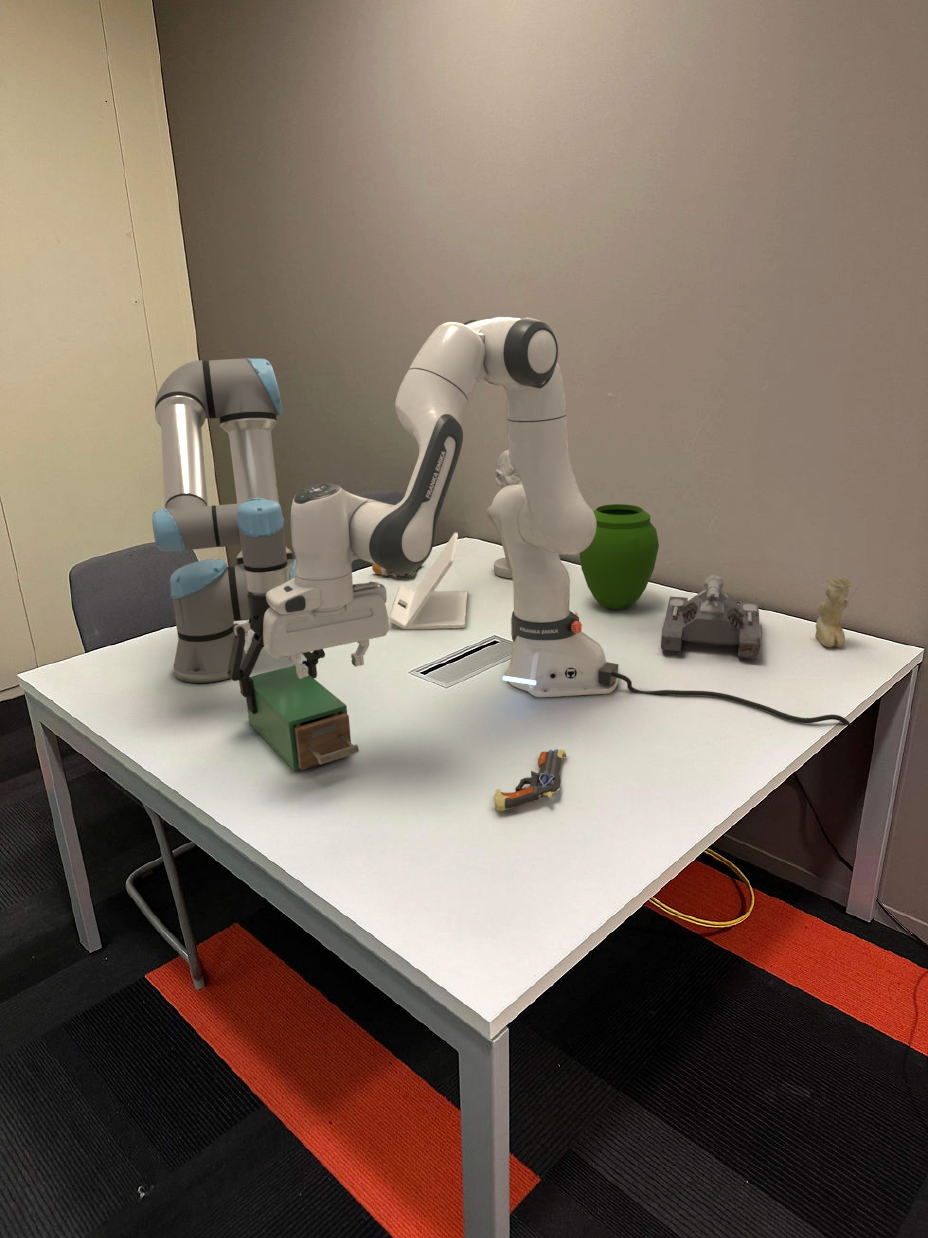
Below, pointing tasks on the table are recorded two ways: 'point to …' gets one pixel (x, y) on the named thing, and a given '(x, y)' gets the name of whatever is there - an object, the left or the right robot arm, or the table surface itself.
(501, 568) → the bust sculpture
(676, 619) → the toy
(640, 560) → the vase
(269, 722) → the cabinet
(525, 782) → the toy gun
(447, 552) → the tablet stand
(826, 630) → the sculpture
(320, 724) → the drawer
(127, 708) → the table surface
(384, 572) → the spray gun
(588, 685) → the right robot arm
